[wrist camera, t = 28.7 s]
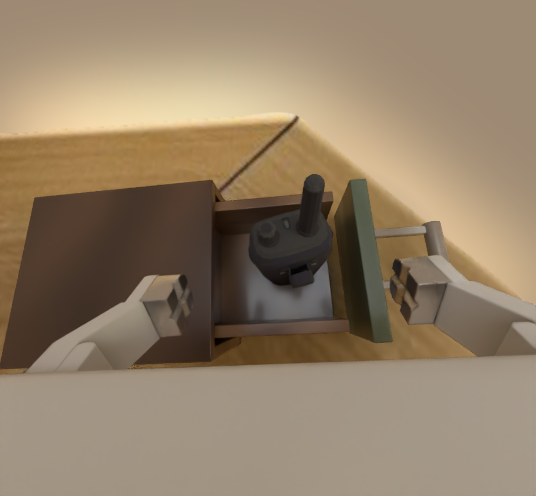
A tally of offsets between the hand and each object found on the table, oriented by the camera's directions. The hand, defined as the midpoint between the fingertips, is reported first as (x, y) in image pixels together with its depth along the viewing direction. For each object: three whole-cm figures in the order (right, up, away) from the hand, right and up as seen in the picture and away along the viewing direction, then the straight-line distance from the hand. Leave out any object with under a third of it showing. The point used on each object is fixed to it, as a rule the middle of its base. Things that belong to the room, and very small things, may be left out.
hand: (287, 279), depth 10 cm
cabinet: (-11, -2, +16) cm, 20 cm away
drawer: (+4, -1, +14) cm, 15 cm away
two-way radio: (+2, -1, +14) cm, 14 cm away
